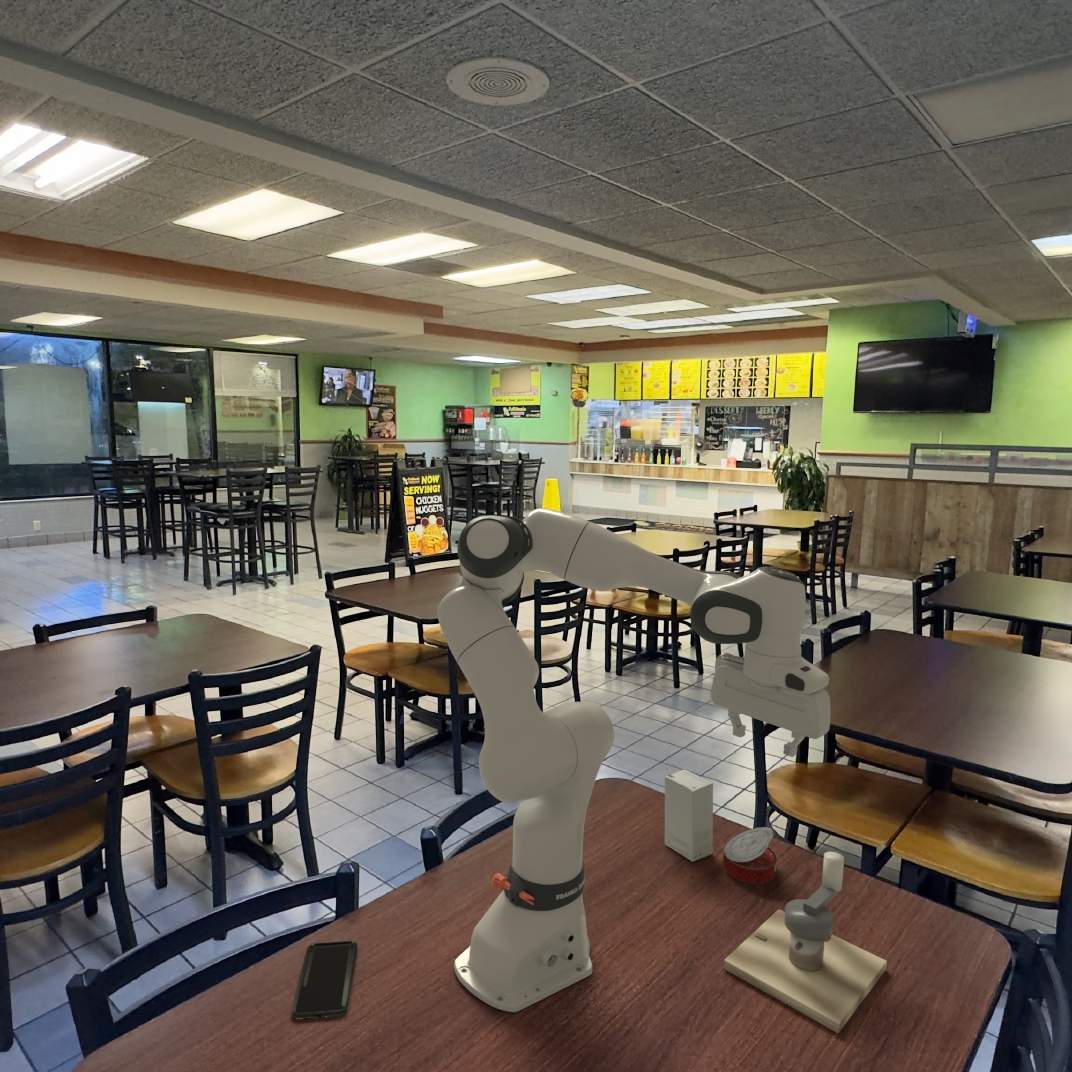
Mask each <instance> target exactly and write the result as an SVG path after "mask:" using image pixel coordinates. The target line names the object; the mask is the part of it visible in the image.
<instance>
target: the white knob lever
mask: <svg viewBox="0 0 1072 1072" xmlns="http://www.w3.org/2000/svg"><path fill="white" fill-rule="evenodd" d="M844 864H845V857H844V856H843V855H842V854H840V853H838V852H835V851H826V852H824V854H823V865H822V878H821V886H819V888H818V889H817V890H815V892H814V893H812V894H811V895H810V896H809V897H808V898H807V899H805V898H804V899H803V898H800V899H799V898H798V899H792V900H790V901H788V902H787V903H786V905H785V906H784V907H785V908H784V912H785V920H784V923H785V926H786V927H787V929H788V930H789V931H790V932H791V933H793V934H794V935H796V936H797V937H800V938H802V939H805V940H809V941H824V940H827V939H829V938H830V937H831V935H833V929H834V928H833V927H834V915H833V913H832V912H831V910H830V909H829V908H828V907H827V906H828V904H829V903H831V901H832V900H833V899H834V898H835V897H837V895H838V894H839V893H840V892H841V891H842V889H843V878H844V877H843V876H844V867H845V866H844Z"/></svg>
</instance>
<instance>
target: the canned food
mask: <svg viewBox="0 0 1072 1072" xmlns="http://www.w3.org/2000/svg"><path fill="white" fill-rule="evenodd" d="M774 835H775V833H774V831H773V829H772V828H771V827H767V826H763V827H760V826H759V827H756V828H751V829H748V830H745V831H743V832H740V833H738V834H736V835H735V836H734V837H732V838H730V840H729V841H728V842H727V843H726V844H725V846H724V847H723V858H722V860H723V861H722V866H723V869H724V870H725V872H726V873H727V874H728V875H730V876H731V877H733V878H735V879H736V880H740V881H742V882H745V883H751V884H762V883H763V884H764V883H767V882H770V881H773V879H774V878H775V877H776V875H777V863H778V862H777V861H778V858H777V857H778V856H777V855H776V853H775V852H774V851H773V849H771V848H770V847H769V845H770V843H771V841H772V840H773V838H774Z"/></svg>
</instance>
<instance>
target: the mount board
mask: <svg viewBox="0 0 1072 1072" xmlns="http://www.w3.org/2000/svg"><path fill="white" fill-rule="evenodd" d="M784 920H785V910H784V911H783V910H782V909H777V910H776V911H775V912H774V913H773V914H772V915H771V916H770V917H769V918H768V919H766V921H764V922H763V923H762V924H761V925H760V926H759V927H758V928H757V929H756V930H755V931H754V932H752V933H751V934H750V935H749V936H748V937H747V938H745V940H744V941H743V942H742V943H741V944H739V945H738V946H737V947H736V948H735V949H734V950H733V951H732V952H731V953H729V955H727V956H726V958H725V959H724V960H723V969H724V970H725V971H726V972H728V973H730V974H732V975H734V976H736V977H737V978H739V979H741V980H743V981H744V982H746V983H748V984H750V985H752V986H754V987H755V988H757V989H759V990H760V991H762V992H763V993H766V994H767V995H770V996H771V997H773V998H774V997H775V998H774V999H777V1000H778V1001H780V1002H781V1003H783V1004H785V1005H787V1004H788V1005H787V1006H789V1007H790V1006H791V1007H790V1008H792V1009H794V1010H796V1011H798V1012H799V1013H801V1014H803V1015H804V1016H807V1017H809V1018H810V1019H812V1020H813V1021H815V1022H817V1023H819V1024H821V1025H823V1026H824V1027H825V1028H826V1029H827V1028H828V1029H829V1030H831V1031H833V1032H835V1033H836V1034H839V1033H840V1032H841V1031H842V1029H844V1027H845V1026H846V1024H847V1023H848V1021H849V1020H851V1017H852V1016H853V1014H854V1013H855V1012H856V1011H857V1010H858V1008H859V1007H860V1005H861V1004H862V1002H863V1001H864V1000H865V998H866V997H867V996H868V994H869V993H870V992H871V990H872V989H873V988H874V987H875V985H876V984H877V982H879V979H880V978H881V977H882V976H883V974H885V972H886V970H887V962H888V960H886V959H884V958H882V957H880V956H877V955H875V954H873V953H872V952H870V951H867V950H865V949H864V948H860V947H859V946H857V945H855V944H852V943H850V942H848V941H846V940H844V939H842V938H840V937H838V936H836V935H834V934H832V935H831V937H830V938H829V939H827V940H824V941H809V940H805V939H802V938H800V937H797V936H796V935H794V934H793V933H791V932H790V931H789V930H788V929H787V927H786V926H785V923H784Z"/></svg>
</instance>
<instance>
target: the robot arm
mask: <svg viewBox="0 0 1072 1072" xmlns="http://www.w3.org/2000/svg"><path fill="white" fill-rule="evenodd" d="M456 549H457V557H458V560H459V565H460V566H459V567H460V572H461V578H462V580H461V582H460V583H459V585H457V587H455V588H454V589H452V590H450V591H449V592H447V594H446V595H445V596H444V597H443V598H442V599H441V600H440V602H439V603H438V606H437V613H436V614H437V620H438V622H439V625H440V630H441V632H442V634H443V637H444V639H445V641H446V643H447V646H448V647H449V648H448V649H449V650H450V652H451V654H452V656H453V657H454V660H455V661H456V663H457V665H458V666H459V668H460V670H461V671H462V673H463V675H464V677H465V678H466V680H467V682H468V684H469V686H470V688H471V690H472V691H473V694H474V696H475V697H476V699H477V701H478V704H479V706H480V709H481V713H482V717H483V724H484V739H483V740H484V741H483V744H482V747H481V749H480V751H479V752H480V753H479V757H478V758H479V759H478V770H479V775H480V779H481V780H482V783H483V785H484V786H485V788H486V790H487V791H488V792H489V793H490V795H492V796H493V797H494V798H496V799H497V800H498V801H500V802H503V803H506V804H507V803H508V804H513V803H518V802H520V803H519V806H518V807H517V809H516V812H515V814H514V817H513V821H512V858H511V861H510V863H509V867H508V869H507V872H506V877H505V876H504V875H503V874H502V873H500V872H497V873H495V874H494V875H493V878H492V879H491V884H492V886H493V887H495V888H498V889H499V891H501V893H500V894H499V895H498V896H497V897H496V898H495V900H494V902H493V903H492V904H491V906H490V907H489V908H488V910H487V911H486V912H485V914H484V915H483V916H482V918H481V919H480V920H479V921H478V922H477V924H476V925H475V927H474V928H473V930H472V931H473V932H472V934H471V939H470V945H469V946H468V947H467V948H466V949H465V950H464V951H463V952H462V953H460V955H458V957H456V959H455V960H454V966H453V968H454V973H455V976H456V977H457V979H458V980H459V982H460V983H461V984H462V986H464V987H465V988H466V990H468V992H470V993H471V994H472V995H474V996H475V997H476V998H478V999H479V1000H480V1001H482V1002H484V1003H485V1004H487V1005H489V1006H491V1007H492V1008H495V1009H497V1010H501V1011H505V1012H510V1013H517V1012H520V1011H521V1010H524V1009H526V1008H528V1007H530V1006H532V1005H533V1004H535V1003H538V1002H539V1001H542V1000H544V999H546V998H547V997H549V996H552V995H554V994H556V993H557V992H560V991H562V990H563V989H565V988H568V987H570V986H572V985H573V984H576V983H577V982H579V981H581V980H583V979H586V978H587V977H590V976H591V975H592V974H593V963H592V960H591V958H590V957H591V956H590V952H591V943H590V938H589V936H588V929H587V918H586V911H585V906H584V900H583V894H584V890H585V883H586V882H585V881H586V873H585V863H584V861H583V848H584V846H583V845H584V829H585V819H586V814H587V812H588V811H587V810H588V806H589V804H590V799H591V796H592V792H593V789H594V786H595V783H596V779H597V776H598V774H599V772H600V769H601V767H602V764H603V762H604V760H605V759H606V757H607V755H608V754H609V753H610V751H611V749H612V747H613V746H614V745H613V744H614V740H615V731H614V725H613V722H612V720H611V718H610V716H609V714H608V713H607V712H606V711H605V709H603V708H602V707H601V706H600V705H598V704H596V703H595V702H592V701H585V700H583V701H573V702H572V701H571V702H565V703H562V704H560V705H558V706H556V707H553V708H550V709H548V710H545V711H542V710H541V709H540V707H539V705H538V702H537V699H536V694H535V691H534V690H535V689H534V687H535V686H536V684H537V681H538V680H539V679H538V678H539V674H540V669H539V663H538V662H537V661H536V659H535V657H534V655H533V653H531V651H530V649H529V647H528V646H527V644H526V643H525V641H524V640H523V638H522V637H521V635H520V633H519V632H518V630H517V629H516V627H515V625H514V623H513V622H512V620H511V619H510V618H509V616H508V615H507V614H506V610H505V609H504V608H505V607H507V605H508V604H509V603H510V602H511V601H512V600H513V599H514V598H515V597H516V596H517V595H518V594H519V592H520V590H521V589H522V586H523V584H524V581H525V572H527V573H528V572H531V571H535V572H537V571H540V572H544V573H549V574H552V575H553V576H556V577H558V578H560V579H561V580H564V581H566V582H569V583H570V584H574V585H575V586H578V587H581V588H584V589H589V590H592V591H598V592H608V591H613V590H616V589H621V588H628V587H637V588H643V589H644V588H645V589H647V590H651V591H654V592H657V593H659V594H661V595H664V596H667V597H669V598H672V599H675V600H676V601H679V602H681V603H685V604H687V605H688V606H690V614H689V617H690V618H689V619H690V623H691V627H692V629H693V630H694V632H695V633H696V634H697V636H699V637H700V638H701V639H703V640H704V641H707V642H709V643H711V644H716V645H732V644H733V645H734V644H735V645H736V644H745V647H744V657H742V656H738V655H734V654H731V653H728V652H724V653H721V654H719V655H718V656H717V657H716V659H715V665H714V675H713V679H712V684H711V688H710V693H709V694H710V695H709V696H710V699H711V702H712V703H713V705H716V706H718V707H721V708H724V709H727V710H728V713H727V715H728V718H729V721H730V722H731V725H732V735H733V736H735V737H737V738H743V737H745V736H746V730H747V729H746V728H747V726H746V725H745V724H743V723H742V720H741V717H740V715H744V716H748V717H750V718H752V719H755V720H759V721H762V722H764V723H767V724H770V725H773V726H776V727H778V728H782V729H784V730H787V731H790V732H791V734H790V735H791V738H793V740H792V741H788V742H786V743H784V744H783V752H782V753H783V755H785V756H789V757H791V758H793V757H795V756H796V755H797V751H798V746H799V744H801V742H802V741H803V740H804V739H805V738H806V737H808V738H810V739H813V740H817V739H819V738H822V737H824V736H825V735H827V734H828V732H829V730H830V726H831V716H832V715H831V713H832V711H831V708H832V707H831V698H830V695H829V693H828V691H827V690H826V689H825V688H826V687H827V686H828V685H829V683H830V676H829V674H828V673H827V672H825V671H823V670H821V669H820V668H819V667H817V666H815V665H814V664H813V663H811V662H809V661H808V660H806V659H805V658H804V657H802V647H801V636H802V633H803V631H804V627H805V619H806V606H807V605H806V603H807V601H806V600H807V599H806V587H805V584H804V583H803V581H802V580H801V579H800V578H799V577H798V576H797V575H796V574H794V573H793V572H790V571H787V570H785V569H781V568H778V567H773V566H761V567H760V566H759V567H758V568H757V569H756V570H754V571H752V572H750V573H748V574H745V575H743V576H740V575H739V574H736V573H734V572H732V571H726V570H725V571H723V570H713V571H711V570H709V571H708V570H701V569H697V568H694V567H690V566H689V565H685V564H682V563H680V562H677V561H674V560H672V559H670V558H667V557H664V556H661V555H658V554H656V553H654V552H651V551H649V550H646V549H645V548H643V547H641V546H639V545H638V544H635V543H634V542H632V541H630V540H628V539H626V538H624V537H622V536H621V535H618V534H617V533H615V532H613V531H612V530H610V529H607V528H605V527H603V526H601V525H599V524H596V523H595V522H592V521H589V520H587V519H586V518H585V519H584V518H582V517H579V516H577V515H574V514H570V513H567V512H562V511H559V510H555V509H550V508H544V507H539V508H536V509H533V510H531V511H529V513H527V514H526V516H525V517H524V518H523V519H521V518H519V517H516V516H501V515H500V516H499V515H482V516H478V517H475V518H473V519H472V520H470V521H469V522H468V523H467V524H465V526H464V527H463V528H462V531H461V532H460V534H459V537H458V541H457V548H456Z"/></svg>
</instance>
